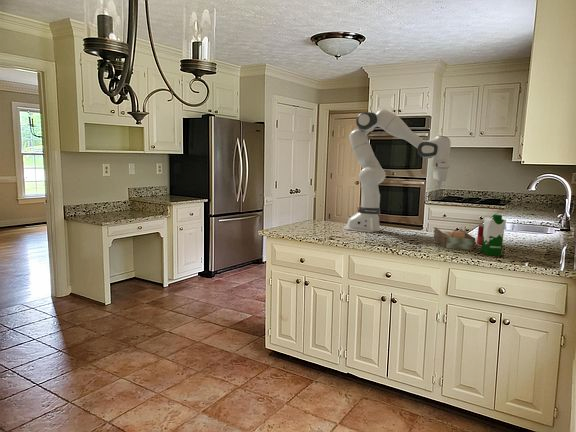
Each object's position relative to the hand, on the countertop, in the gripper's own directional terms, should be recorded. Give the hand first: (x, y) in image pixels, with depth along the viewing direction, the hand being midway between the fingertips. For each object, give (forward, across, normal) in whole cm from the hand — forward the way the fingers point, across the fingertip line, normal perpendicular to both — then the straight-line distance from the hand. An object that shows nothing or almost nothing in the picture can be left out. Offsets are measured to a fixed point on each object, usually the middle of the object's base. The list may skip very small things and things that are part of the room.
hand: (438, 187), depth 255 cm
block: (+25, +29, +7) cm, 39 cm away
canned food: (+29, +17, +24) cm, 41 cm away
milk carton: (+29, +41, +20) cm, 54 cm away
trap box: (+29, +20, +7) cm, 35 cm away
